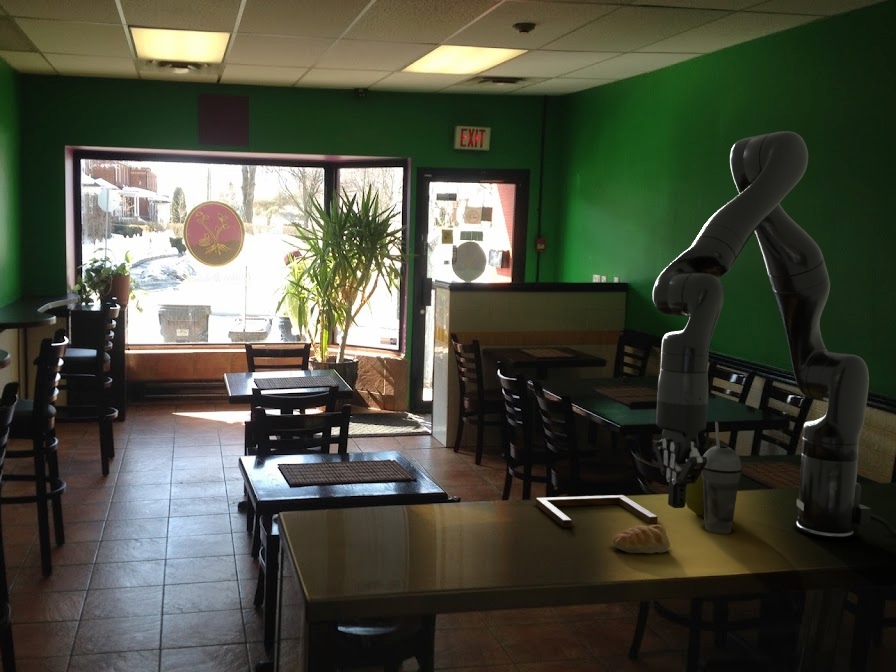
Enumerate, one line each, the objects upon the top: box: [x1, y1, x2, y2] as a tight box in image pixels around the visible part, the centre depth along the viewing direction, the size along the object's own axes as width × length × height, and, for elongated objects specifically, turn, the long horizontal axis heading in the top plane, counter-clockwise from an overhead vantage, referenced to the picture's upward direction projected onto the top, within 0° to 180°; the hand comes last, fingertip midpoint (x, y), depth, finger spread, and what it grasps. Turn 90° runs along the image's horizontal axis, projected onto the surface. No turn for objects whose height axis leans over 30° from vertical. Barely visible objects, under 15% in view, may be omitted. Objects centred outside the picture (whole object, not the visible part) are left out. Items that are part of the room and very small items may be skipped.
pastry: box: [611, 524, 671, 554], centre depth 153 cm, size 9×7×4 cm
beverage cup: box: [701, 421, 743, 534], centre depth 164 cm, size 7×7×20 cm
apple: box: [685, 474, 704, 517], centre depth 173 cm, size 10×10×11 cm
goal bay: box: [535, 494, 659, 528], centre depth 172 cm, size 19×15×1 cm
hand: (676, 506), depth 141 cm, fingers closed
